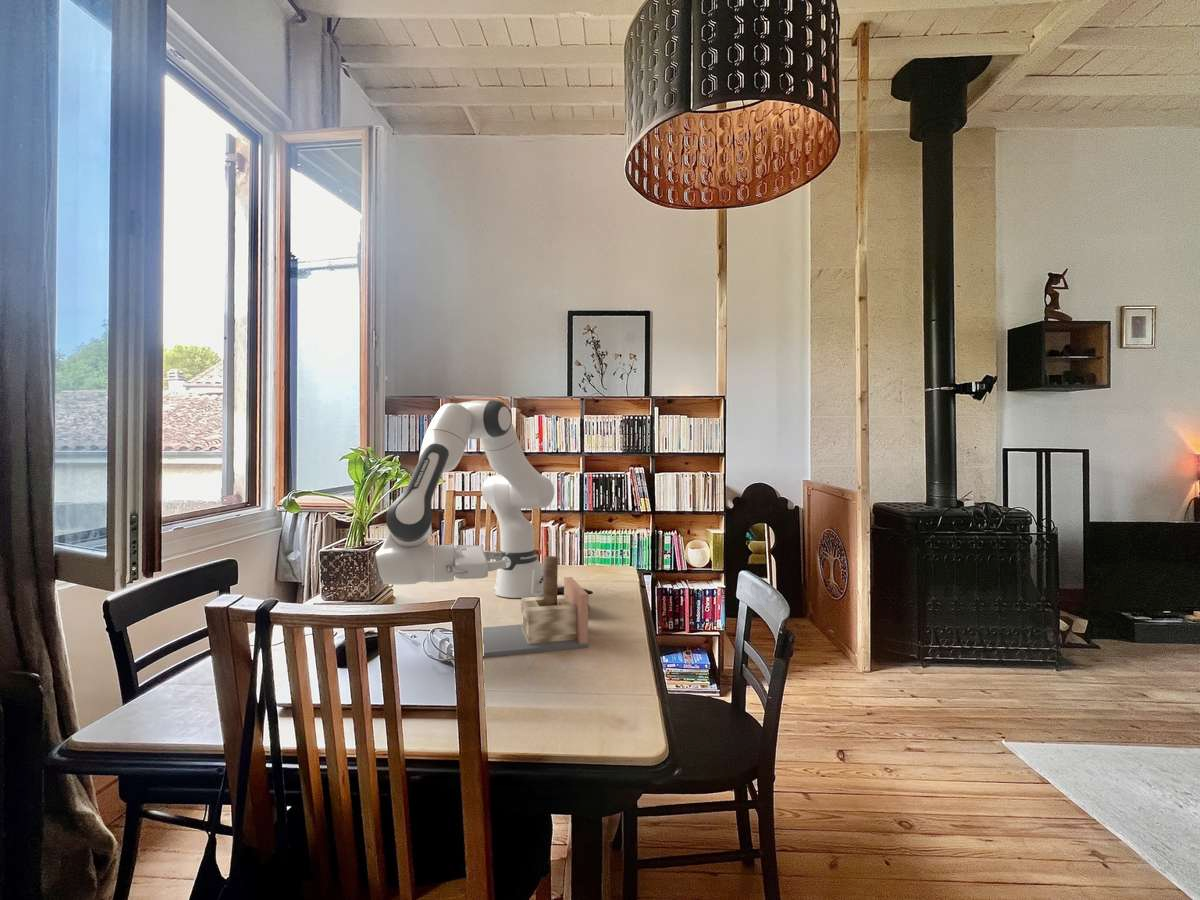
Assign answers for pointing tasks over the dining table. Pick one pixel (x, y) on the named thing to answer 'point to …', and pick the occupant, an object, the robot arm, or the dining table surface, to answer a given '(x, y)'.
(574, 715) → the dining table surface
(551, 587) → the dowel
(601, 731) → the dining table surface
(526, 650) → the backstop
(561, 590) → the figurine character
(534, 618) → the block
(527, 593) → the robot arm
